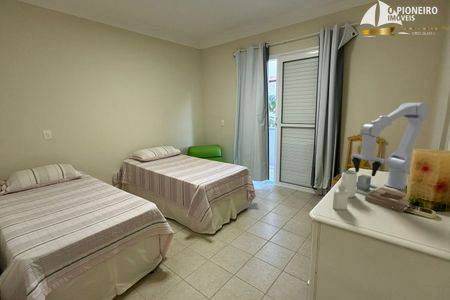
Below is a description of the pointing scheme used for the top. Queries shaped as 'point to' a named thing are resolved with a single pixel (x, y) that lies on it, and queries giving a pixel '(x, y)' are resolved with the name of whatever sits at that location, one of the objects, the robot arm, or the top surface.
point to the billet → (363, 182)
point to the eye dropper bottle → (340, 198)
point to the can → (349, 182)
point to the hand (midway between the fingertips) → (364, 173)
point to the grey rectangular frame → (370, 191)
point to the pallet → (381, 200)
